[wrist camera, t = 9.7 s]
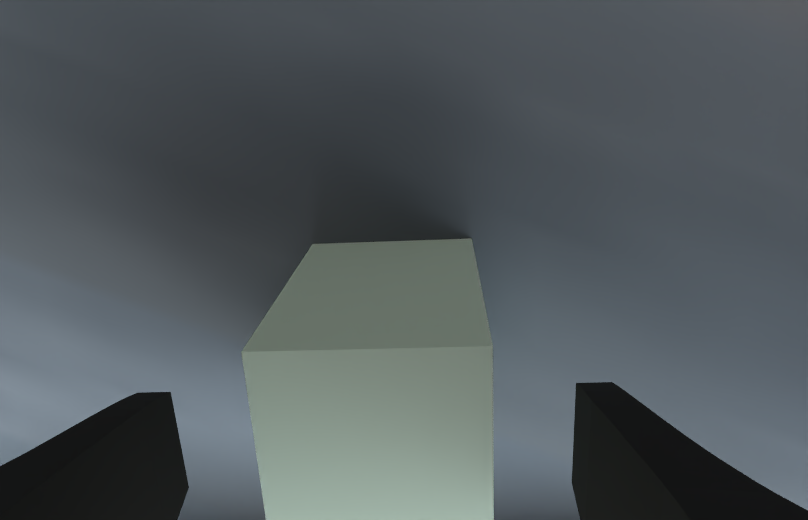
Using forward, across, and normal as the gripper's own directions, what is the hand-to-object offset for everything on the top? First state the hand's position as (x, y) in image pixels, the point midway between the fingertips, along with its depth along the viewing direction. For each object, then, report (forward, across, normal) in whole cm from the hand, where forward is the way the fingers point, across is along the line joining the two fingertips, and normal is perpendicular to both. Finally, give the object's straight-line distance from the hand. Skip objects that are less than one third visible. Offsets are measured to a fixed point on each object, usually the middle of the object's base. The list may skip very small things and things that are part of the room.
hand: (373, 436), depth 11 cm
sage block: (+5, 0, 0) cm, 5 cm away
